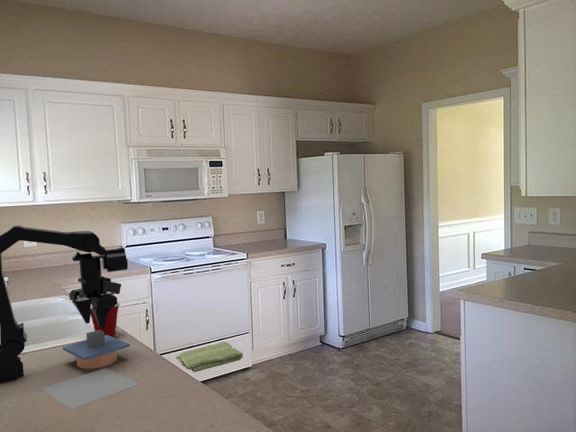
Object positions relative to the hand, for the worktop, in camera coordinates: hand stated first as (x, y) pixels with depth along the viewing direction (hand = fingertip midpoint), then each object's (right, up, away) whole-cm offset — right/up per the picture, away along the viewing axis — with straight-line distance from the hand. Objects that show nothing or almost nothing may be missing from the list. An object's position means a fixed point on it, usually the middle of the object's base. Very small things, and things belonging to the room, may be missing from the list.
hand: (94, 325), depth 152 cm
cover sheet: (0, -7, +1) cm, 7 cm away
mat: (+5, -13, -17) cm, 22 cm away
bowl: (0, -12, +1) cm, 12 cm away
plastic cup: (-6, -10, +26) cm, 29 cm away
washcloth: (+34, -11, +1) cm, 36 cm away
